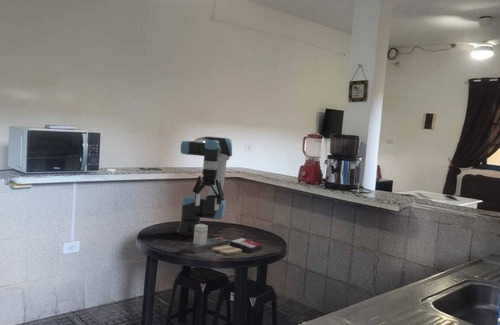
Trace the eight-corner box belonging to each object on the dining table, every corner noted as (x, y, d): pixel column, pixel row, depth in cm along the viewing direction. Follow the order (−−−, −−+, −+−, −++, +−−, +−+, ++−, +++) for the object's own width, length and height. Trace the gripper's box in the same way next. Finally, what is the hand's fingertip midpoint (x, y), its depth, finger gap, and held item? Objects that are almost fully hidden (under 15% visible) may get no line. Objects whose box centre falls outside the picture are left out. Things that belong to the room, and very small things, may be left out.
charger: (192, 246, 223) (194, 224, 222) (199, 245, 227) (201, 223, 226) (199, 249, 220) (201, 226, 219) (206, 247, 224) (208, 225, 223)
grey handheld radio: (195, 253, 216) (195, 246, 215) (184, 249, 221) (185, 242, 220) (234, 243, 240) (234, 237, 240) (224, 240, 245) (224, 234, 245)
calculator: (251, 247, 224) (230, 240, 233) (250, 255, 225) (229, 247, 233) (262, 244, 233) (241, 237, 242) (261, 251, 234) (240, 244, 242)
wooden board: (211, 250, 224) (211, 247, 224) (225, 246, 233) (226, 244, 233) (227, 255, 216) (227, 253, 216) (242, 251, 226) (242, 249, 226)
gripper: (188, 166, 225) (185, 204, 227) (223, 171, 211) (220, 212, 213) (197, 165, 231) (194, 203, 233) (232, 171, 217) (229, 211, 219)
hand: (206, 207), depth 223 cm, fingers open, 13 cm apart
